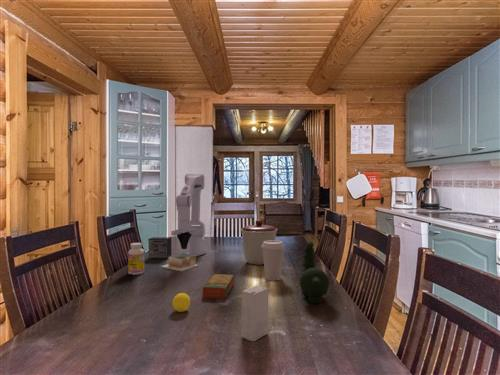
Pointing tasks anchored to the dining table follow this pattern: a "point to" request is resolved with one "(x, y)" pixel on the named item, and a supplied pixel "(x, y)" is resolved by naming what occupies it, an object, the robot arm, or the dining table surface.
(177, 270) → the beige mat
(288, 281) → the dining table surface
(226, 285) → the carton
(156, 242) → the small box
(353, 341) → the dining table surface
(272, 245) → the coffee cup
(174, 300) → the lemon
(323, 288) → the green topiary plant
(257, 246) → the canister
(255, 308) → the skincare box
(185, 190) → the robot arm
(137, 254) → the supplement bottle
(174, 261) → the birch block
